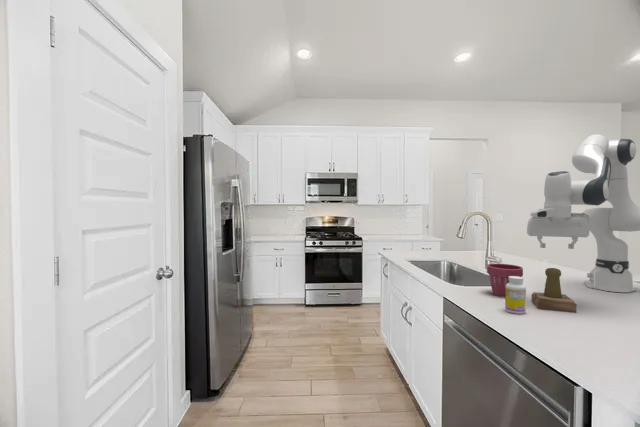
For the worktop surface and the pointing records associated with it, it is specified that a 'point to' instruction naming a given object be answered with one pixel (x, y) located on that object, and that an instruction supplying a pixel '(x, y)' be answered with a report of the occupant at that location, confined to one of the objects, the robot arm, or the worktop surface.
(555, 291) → the cork
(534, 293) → the walnut stand
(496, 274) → the plant pot
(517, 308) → the supplement bottle
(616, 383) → the worktop surface
